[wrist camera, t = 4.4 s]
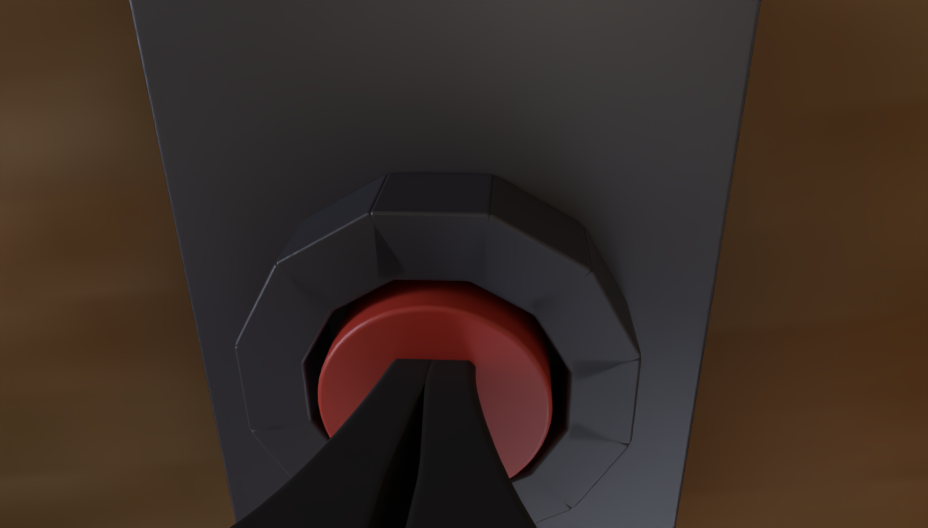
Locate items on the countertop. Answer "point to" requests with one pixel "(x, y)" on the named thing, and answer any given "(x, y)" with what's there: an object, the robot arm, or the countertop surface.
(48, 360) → the countertop surface
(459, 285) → the red push button
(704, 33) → the control block
